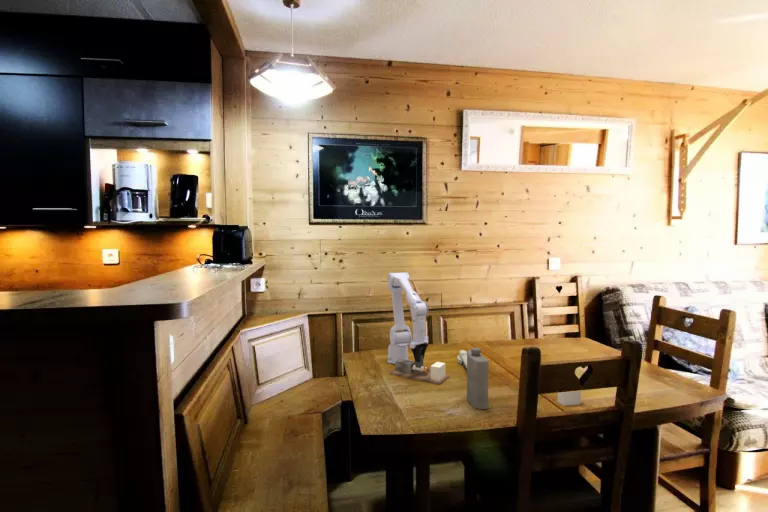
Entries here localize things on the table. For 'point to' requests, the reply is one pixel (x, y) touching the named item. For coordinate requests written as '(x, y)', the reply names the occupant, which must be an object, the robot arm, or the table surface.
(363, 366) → the table surface
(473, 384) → the flask
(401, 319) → the robot arm
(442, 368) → the socket block
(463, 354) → the toothbrush head
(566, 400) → the light grey block
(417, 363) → the dark grey angular piece
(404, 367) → the track base
